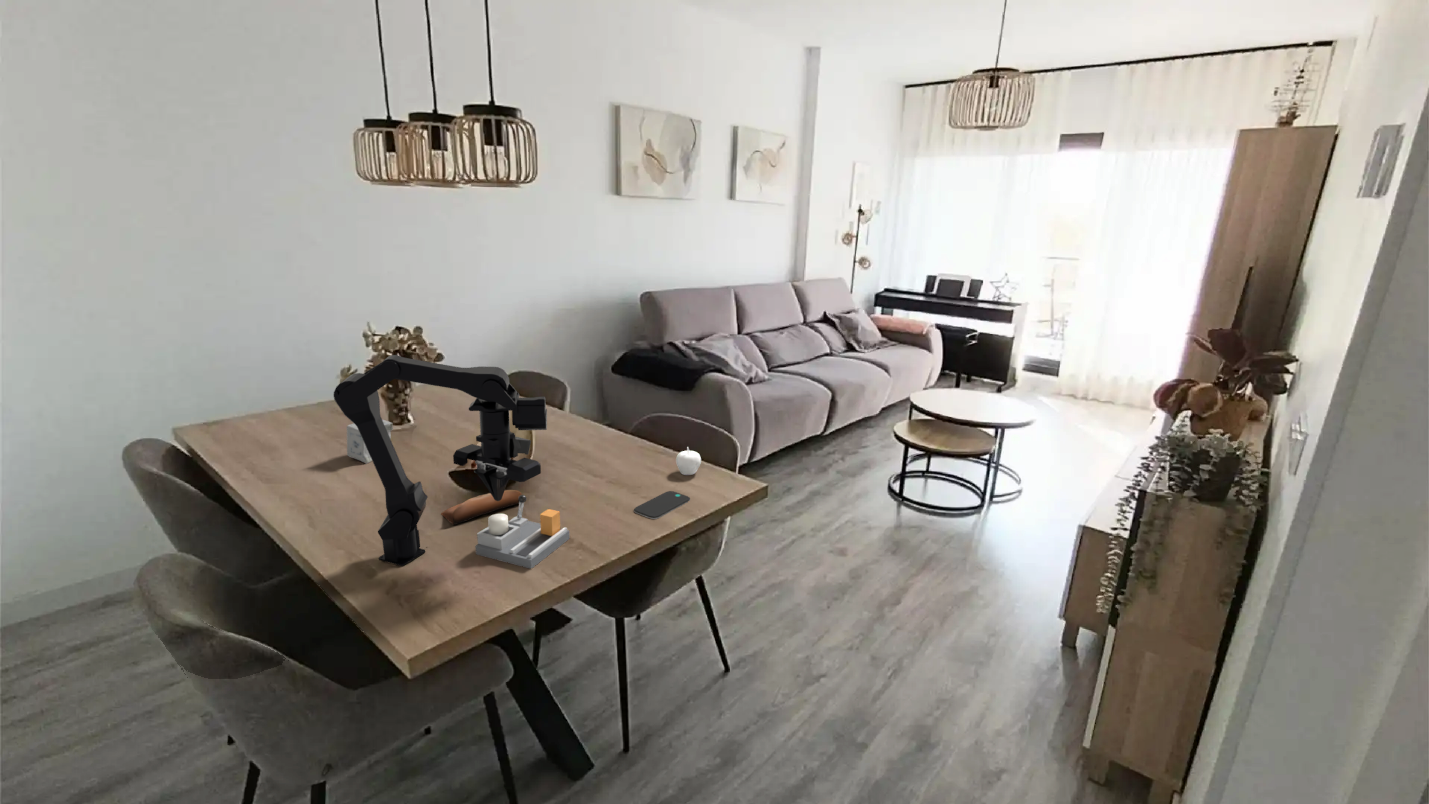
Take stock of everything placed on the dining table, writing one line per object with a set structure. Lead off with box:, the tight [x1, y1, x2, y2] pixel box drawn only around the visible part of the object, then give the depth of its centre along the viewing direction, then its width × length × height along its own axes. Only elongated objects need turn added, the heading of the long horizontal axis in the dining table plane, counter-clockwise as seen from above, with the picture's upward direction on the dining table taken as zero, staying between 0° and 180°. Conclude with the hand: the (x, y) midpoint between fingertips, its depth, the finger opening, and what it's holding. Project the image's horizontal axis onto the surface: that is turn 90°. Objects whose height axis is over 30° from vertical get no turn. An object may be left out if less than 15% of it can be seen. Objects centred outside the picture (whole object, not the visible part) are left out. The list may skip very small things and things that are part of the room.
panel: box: [475, 516, 571, 570], centre depth 142 cm, size 14×14×4 cm
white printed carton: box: [346, 419, 394, 464], centre depth 186 cm, size 10×8×10 cm
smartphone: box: [633, 490, 691, 520], centre depth 165 cm, size 8×1×15 cm
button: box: [487, 513, 509, 535], centre depth 140 cm, size 4×4×3 cm
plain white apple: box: [675, 446, 702, 476], centre depth 184 cm, size 7×7×8 cm
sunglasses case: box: [440, 489, 523, 526], centre depth 158 cm, size 18×7×7 cm
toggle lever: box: [516, 494, 527, 519], centre depth 149 cm, size 2×2×5 cm
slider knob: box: [539, 508, 561, 536], centre depth 144 cm, size 3×3×5 cm
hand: (498, 500), depth 138 cm, fingers closed
